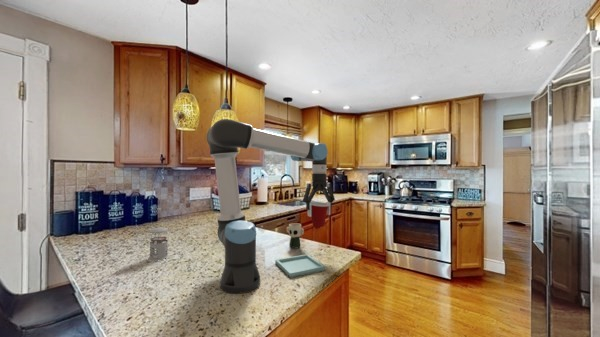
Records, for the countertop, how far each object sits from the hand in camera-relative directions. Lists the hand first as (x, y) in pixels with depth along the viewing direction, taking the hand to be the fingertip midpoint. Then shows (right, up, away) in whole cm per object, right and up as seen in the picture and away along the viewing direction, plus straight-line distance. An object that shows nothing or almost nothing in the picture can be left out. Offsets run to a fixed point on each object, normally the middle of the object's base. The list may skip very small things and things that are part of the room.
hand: (319, 215), depth 126 cm
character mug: (-13, -21, +13) cm, 28 cm away
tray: (-10, -21, -15) cm, 28 cm away
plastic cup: (0, -6, 0) cm, 6 cm away
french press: (-82, -21, -4) cm, 84 cm away
